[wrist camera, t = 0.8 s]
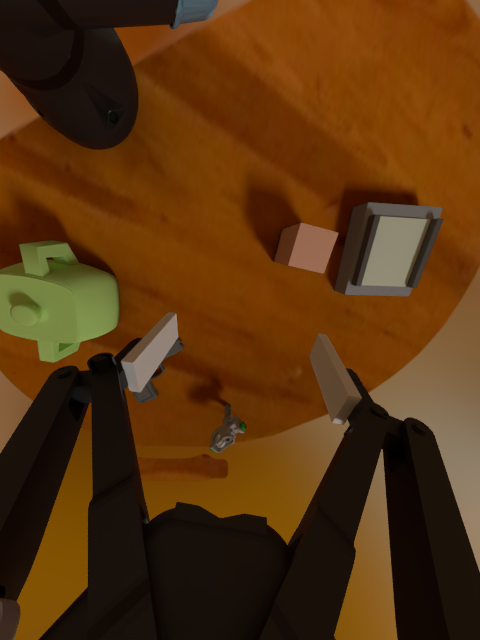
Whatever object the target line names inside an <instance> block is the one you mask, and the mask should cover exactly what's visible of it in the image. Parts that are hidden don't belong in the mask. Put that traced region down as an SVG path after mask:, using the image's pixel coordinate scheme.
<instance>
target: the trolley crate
mask: <svg viewBox="0 0 480 640" xmlns="http://www.w3.org/2000/svg"><path fill="white" fill-rule="evenodd" d="M337 236H338V233H337V232H334V231H330V230H326V229H323V228H319V227H315V226H312V225H308V224H304V223H299V224H296V225H293V226H290V227H287V228H285V229H282V230H281V233H280V237H279V239H280V241H279V245H278V249H277V253H275V255H274V259H273V262H277V263H281V264H285V265H289V266H293V267H297V268H302V269H306V270H310V271H314V272H319V273H323V274H324V271H325V269H326V266H327V263H328V260H329V258H330V255H331V252H332V250H333V247H334V244H335V242H336V239H337Z"/></svg>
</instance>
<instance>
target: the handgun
mask: <svg viewBox="0 0 480 640" xmlns="http://www.w3.org/2000/svg"><path fill="white" fill-rule="evenodd" d="M179 338H180V337H179ZM179 338H177V340H176V341H175V343H174V344H173V346H172V347H171V349H170V350H169V351H168V353H167V354H166V356H165V357H164V359H165V358H167V357H169V356H171V355H173V354H175V353H177V352H179V351H180V350H182V349H184V345H183V344H181V343H180V342H181V341H182V340H181V341H180V339H179ZM164 359H163V360H164ZM163 360H162V361H163ZM159 367H160V368H161V369H162V371H161V372H160V373H158V374H156V375H154V374H153V375H152V376H151V378H150V379H149V381H148V382H147V384H146V385H145V387H144V388H143V390H142V391H141V392H134V391H133V393H134V396H135V398H136V400H137V401H138V402H139V403H144V402H145V401H146V402H147V401H149V400H152V399H154V398H156V397H158V394H157V393H158V392H157V391H156V390H155V388H154V386H153V385H152V382H151V379H153V378H156V377H158V376H160V375H161V374H162V373H163V372H164V370H165V368H164V366H163V365H162V362H161V363H160V365H159Z"/></svg>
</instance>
